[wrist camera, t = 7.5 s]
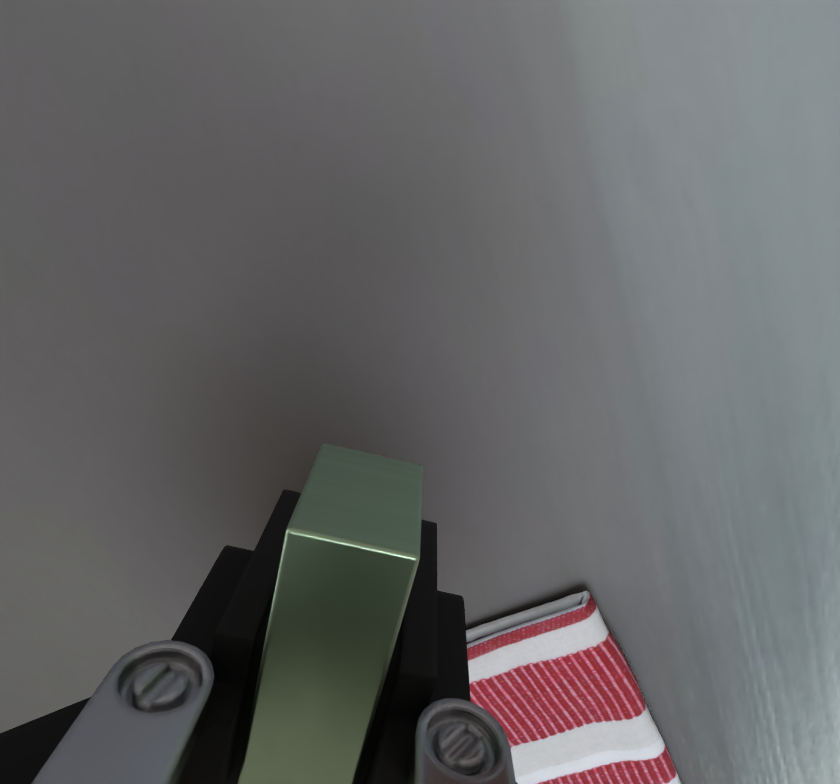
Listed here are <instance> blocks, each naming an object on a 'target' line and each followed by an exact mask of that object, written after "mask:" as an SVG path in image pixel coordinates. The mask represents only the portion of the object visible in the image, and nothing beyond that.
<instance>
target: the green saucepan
mask: <svg viewBox="0 0 840 784" xmlns="http://www.w3.org/2000/svg"><path fill="white" fill-rule="evenodd" d="M422 489H423V467H422V466H421V465H419V464H414V463H410V462H406V461H401V460H397V459H393V458H388V457H384V456H379V455H375V454H371V453H366V452H362V451H358V450H353V449H349V448H344V447H340V446H336V445H331V444H327V443H325V444H323V445H322V446H321V448H320V450H319V452H318V455H317V457H316V460H315V462H314V464H313V467H312V469H311V472H310V474H309V476H308V479H307V481H306V483H305V486H304V488H303V491H302V493H301V495H300V498H299V500H298V503H297V505H296V507H295V510H294V512H293V514H292V517H291V519H290V522H289V524H288V526H287V529H286V533H285V538H284V543H283V549H282V554H281V559H280V564H279V569H278V575H277V580H276V585H275V590H274V595H273V601H272V606H271V611H270V616H269V621H268V627H267V632H266V637H265V642H264V647H263V653H262V658H261V663H260V668H259V673H258V679H257V684H256V689H255V694H254V699H253V705H252V710H251V715H250V720H249V725H248V731H247V736H246V741H245V746H244V751H243V757H242V762H241V767H240V772H239V777H238V783H237V784H355V782H356V778H357V775H358V772H359V768H360V765H361V761H362V758H363V754H364V751H365V747H366V744H367V740H368V737H369V733H370V730H371V726H372V723H373V720H374V716H375V713H376V709H377V706H378V702H379V699H380V695H381V692H382V688H383V685H384V681H385V678H386V675H387V671H388V668H389V664H390V661H391V657H392V654H393V650H394V647H395V643H396V640H397V636H398V633H399V629H400V626H401V623H402V619H403V616H404V612H405V609H406V605H407V602H408V598H409V595H410V591H411V588H412V584H413V581H414V577H415V574H416V571H417V567H418V564H419V560H420V542H421V515H422Z"/></svg>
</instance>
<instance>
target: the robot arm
mask: <svg viewBox="0 0 840 784" xmlns="http://www.w3.org/2000/svg"><path fill="white" fill-rule="evenodd" d="M300 495H301V493H299V492H294V491H290V490H285V489H284V490H283V492H282V494H281V496H280V498H279V500H278V502H277V504H276V506H275V509H274V511H273V513H272V515H271V517H270V519H269V521H268V523H267V525H266V527H265V529H264V531H263V533H262V536H261V538H260V540H259V542H258V544H257V546H256V548H255V550H254V551H251V550H247V549H242V548H237V547H233V546H228V545H227V546H225V547H224V549H223V550H222V551H221V553H220V555H219V557H218V558H217V560H216V562H215V564H214V565H213V567H212V569H211V571H210V573H209V574H208V576H207V578H206V580H205V581H204V583H203V585H202V587H201V588H200V590H199V592H198V594H197V595H196V597H195V599H194V601H193V602H192V604H191V606H190V608H189V610H188V611H187V613H186V615H185V617H184V618H183V620H182V622H181V624H180V625H179V627H178V629H177V631H176V632H175V634H174V636H173V638H172V639H171V640H165V641H156V642H150V643H148V644H145V645H142V646H139V647H136V648H134V649H133V650H131V651H130V652H128V653H126V654H125V655H123V656H122V657H121V658H120V659H119V660H118V661H117V662H116V663H115V664H114V666H113V667H112V668H111V669H110V671H109V672H108V674H107V675H106V676H105V678H104V679H103V681H102V682H101V684H100V685H99V687H98V688H97V689H96V691H95V692H94V694H93V695H92V697H90V698H87V699H85V700H82V701H80V702H77V703H75V704H72V705H70V706H67V707H65V708H62V709H60V710H57V711H55V712H53V713H50V714H48V715H45V716H43V717H40V718H38V719H35V720H33V721H30V722H28V723H25V724H23V725H20V726H18V727H15V728H13V729H10V730H8V731H5V732H3V733H0V784H237V783H238V777H239V772H240V767H241V762H242V757H243V751H244V746H245V741H246V736H247V731H248V725H249V720H250V715H251V710H252V705H253V699H254V694H255V689H256V684H257V679H258V673H259V668H260V663H261V658H262V653H263V647H264V642H265V637H266V632H267V627H268V621H269V616H270V611H271V606H272V601H273V595H274V590H275V585H276V580H277V575H278V569H279V564H280V559H281V554H282V549H283V543H284V538H285V533H286V529H287V526H288V524H289V522H290V519H291V517H292V514H293V512H294V510H295V507H296V505H297V503H298V500H299V498H300ZM355 784H518V783H517V782H516V780H515V773H514V767H513V761H512V754H511V748H510V745H509V741H508V738H507V735H506V733H505V731H504V730H503V728H502V727H501V725H500V724H499V722H498V721H497V720H496V719H495V718H494V717H493V716H492V715H491V714H490V713H489V712H488V711H487V710H485V709H483V708H482V707H480V706H478V705H477V704H475V703H472V702H471V698H470V684H469V669H468V654H467V639H466V624H465V609H464V600H463V597H462V596H460V595H455V594H450V593H446V592H441V591H437V524H436V523H433V522H429V521H424V520H421V542H420V560H419V564H418V567H417V571H416V574H415V577H414V581H413V584H412V588H411V591H410V595H409V598H408V602H407V605H406V609H405V612H404V616H403V619H402V623H401V626H400V629H399V633H398V636H397V640H396V643H395V647H394V650H393V654H392V657H391V661H390V664H389V668H388V671H387V675H386V678H385V681H384V685H383V688H382V692H381V695H380V699H379V702H378V706H377V709H376V713H375V716H374V720H373V723H372V726H371V730H370V733H369V737H368V740H367V744H366V747H365V751H364V754H363V758H362V761H361V765H360V768H359V772H358V775H357V778H356V782H355Z"/></svg>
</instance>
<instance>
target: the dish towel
mask: <svg viewBox="0 0 840 784" xmlns="http://www.w3.org/2000/svg"><path fill="white" fill-rule="evenodd" d="M466 639H467V654H468V669H469V684H470V698H471V702H472V703H475V704H477V705H478V706H480V707H482V708H483V709H485V710H487V711H488V712H489V713H490V714H491V715H492V716H493V717H494V718H495V719H496V720H497V721H498V722H499V724H500V725H501V727H502V728H503V730H504V731H505V733H506V735H507V738H508V741H509V745H510V748H511V754H512V761H513V767H514V773H515V780H516V782H517V783H518V784H682V783H681V781H680V779H679V777H678V774H677V771H676V769H675V766H674V764H673V762H672V759H671V757H670V754H669V752H668V749H667V747H666V745H665V743H664V741H663V739H662V737H661V735H660V733H659V731H658V729H657V727H656V725H655V723H654V721H653V719H652V717H651V715H650V713H649V711H648V708H647V706H646V703H645V700H644V698H643V696H642V693H641V691H640V689H639V686H638V684H637V681H636V678H635V676H634V674H633V672H632V670H631V669H630V667H629V665H628V663H627V660H626V658H625V656H624V654H623V653H622V651H621V649H620V647H619V645H618V644H617V642H616V640H615V639H614V637H613V636H612V635H611V633H610V632H609V630H608V629H607V627H606V625H605V623H604V621H603V619H602V617H601V614H600V612H599V610H598V607H597V605H596V602H595V600H594V598H593V597H592V595H591V593H590V592H588V591H584V592H581V593H577V594H572V595H569V596H567V597H564V598H562V599H559V600H556V601H553V602H550V603H546V604H543V605H541V606H537V607H534V608H531V609H528V610H525V611H522V612H519V613H516V614H513V615H510V616H506V617H503V618H501V619H498V620H495V621H492V622H489V623H485V624H482V625H480V626H477V627H475V628H472V629H468V630H466Z"/></svg>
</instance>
